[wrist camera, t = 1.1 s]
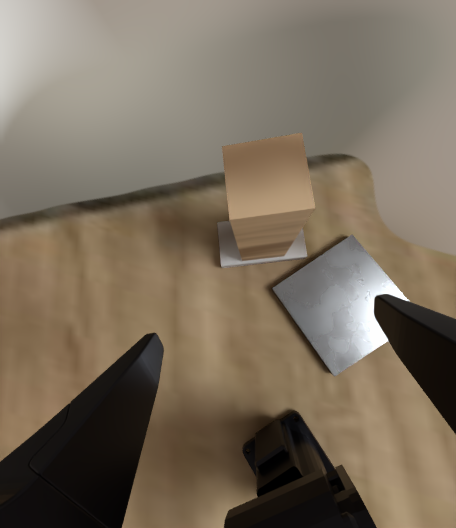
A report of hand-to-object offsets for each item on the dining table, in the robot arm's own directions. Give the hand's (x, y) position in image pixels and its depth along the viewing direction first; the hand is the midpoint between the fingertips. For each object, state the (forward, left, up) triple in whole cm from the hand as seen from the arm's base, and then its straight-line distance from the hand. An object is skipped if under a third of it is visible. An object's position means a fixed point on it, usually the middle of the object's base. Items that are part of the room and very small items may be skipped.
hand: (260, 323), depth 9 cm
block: (+6, -5, -15) cm, 17 cm away
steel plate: (-4, -8, -15) cm, 17 cm away
